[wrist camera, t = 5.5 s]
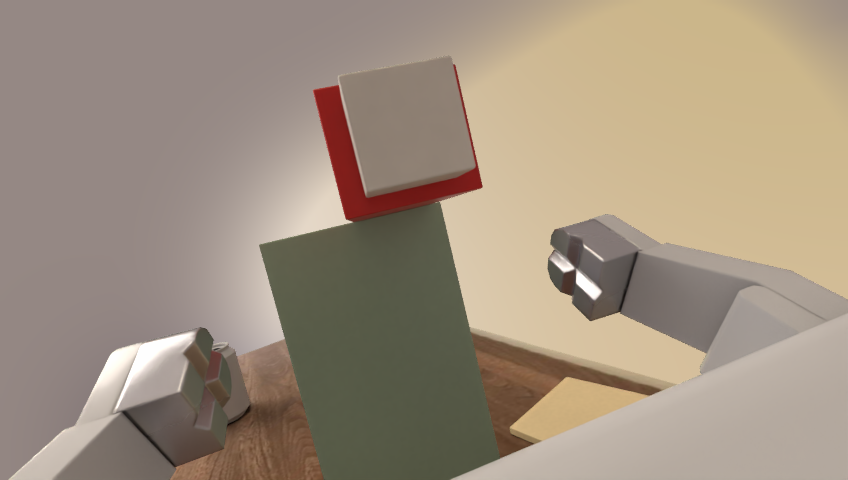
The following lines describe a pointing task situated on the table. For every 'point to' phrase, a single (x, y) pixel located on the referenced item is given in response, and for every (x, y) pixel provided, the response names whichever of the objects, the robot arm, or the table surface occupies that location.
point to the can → (234, 384)
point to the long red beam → (398, 137)
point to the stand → (382, 348)
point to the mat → (570, 408)
